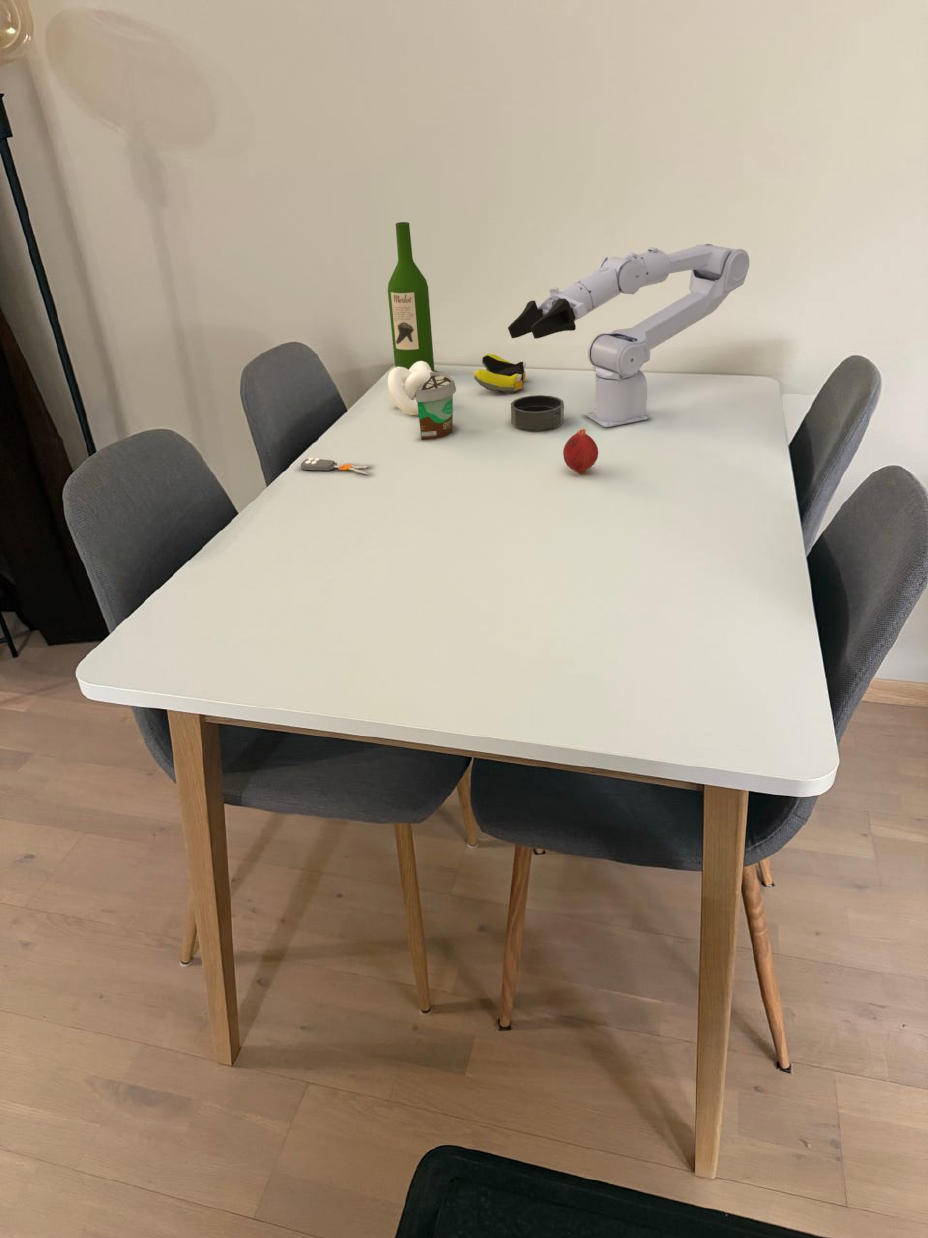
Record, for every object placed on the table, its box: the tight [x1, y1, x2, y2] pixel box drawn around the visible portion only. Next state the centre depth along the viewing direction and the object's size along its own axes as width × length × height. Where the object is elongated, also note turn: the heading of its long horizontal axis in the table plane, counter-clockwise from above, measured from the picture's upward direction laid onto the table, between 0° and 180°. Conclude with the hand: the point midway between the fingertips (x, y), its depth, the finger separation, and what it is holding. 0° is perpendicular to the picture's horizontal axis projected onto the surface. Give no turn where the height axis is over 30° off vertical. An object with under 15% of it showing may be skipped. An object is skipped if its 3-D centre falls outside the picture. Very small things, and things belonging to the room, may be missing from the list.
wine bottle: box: [387, 221, 435, 372], centre depth 199 cm, size 9×9×32 cm
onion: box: [562, 428, 599, 475], centre depth 152 cm, size 6×6×8 cm
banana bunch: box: [473, 353, 527, 395], centre depth 196 cm, size 15×6×10 cm
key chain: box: [300, 457, 369, 475], centre depth 162 cm, size 13×4×2 cm, turn 75°
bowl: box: [510, 394, 565, 432], centre depth 175 cm, size 10×10×4 cm
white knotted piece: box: [387, 361, 433, 416], centre depth 186 cm, size 11×12×9 cm
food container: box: [416, 371, 457, 441], centre depth 173 cm, size 12×6×10 cm, turn 168°
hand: (521, 332), depth 157 cm, fingers open, 7 cm apart
